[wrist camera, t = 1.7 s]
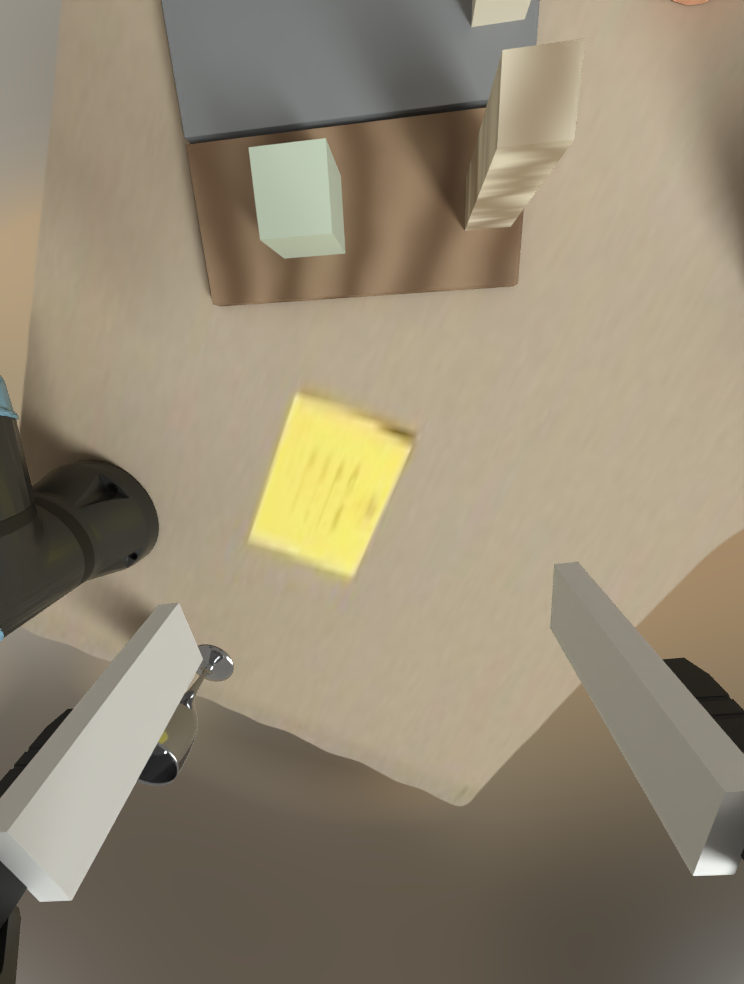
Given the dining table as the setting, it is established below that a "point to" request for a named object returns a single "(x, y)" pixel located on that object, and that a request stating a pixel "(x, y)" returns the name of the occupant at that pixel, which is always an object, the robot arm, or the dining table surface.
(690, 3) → the pepper shaker
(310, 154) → the sage block
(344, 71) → the gray board with post
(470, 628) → the dining table surface
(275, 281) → the wooden base with post
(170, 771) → the wine glass
